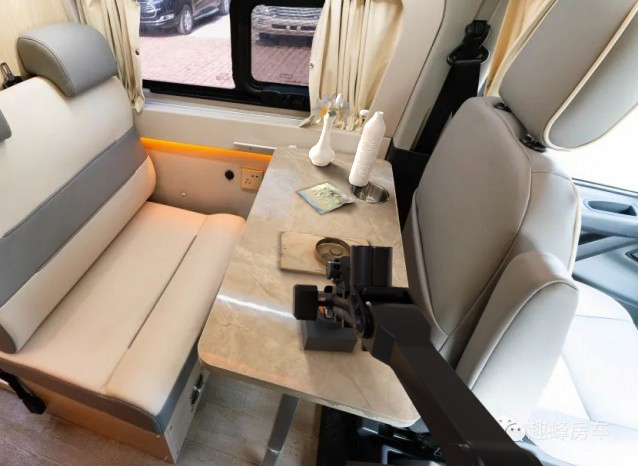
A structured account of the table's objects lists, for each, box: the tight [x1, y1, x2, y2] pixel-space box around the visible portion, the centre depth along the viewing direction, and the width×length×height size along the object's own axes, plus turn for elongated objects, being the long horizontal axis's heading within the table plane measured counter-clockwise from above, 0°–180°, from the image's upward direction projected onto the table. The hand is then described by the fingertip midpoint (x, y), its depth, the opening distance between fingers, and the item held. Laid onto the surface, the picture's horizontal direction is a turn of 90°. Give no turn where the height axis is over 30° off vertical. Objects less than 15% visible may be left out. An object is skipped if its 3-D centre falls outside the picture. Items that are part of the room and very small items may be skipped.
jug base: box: [299, 290, 359, 353], centre depth 71 cm, size 12×10×7 cm
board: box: [279, 230, 371, 277], centre depth 89 cm, size 25×15×3 cm, turn 82°
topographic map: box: [297, 182, 355, 215], centre depth 109 cm, size 14×14×2 cm
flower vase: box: [309, 93, 351, 167], centre depth 119 cm, size 13×18×25 cm
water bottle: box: [348, 109, 387, 187], centre depth 108 cm, size 9×6×25 cm
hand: (333, 297), depth 66 cm, fingers closed
